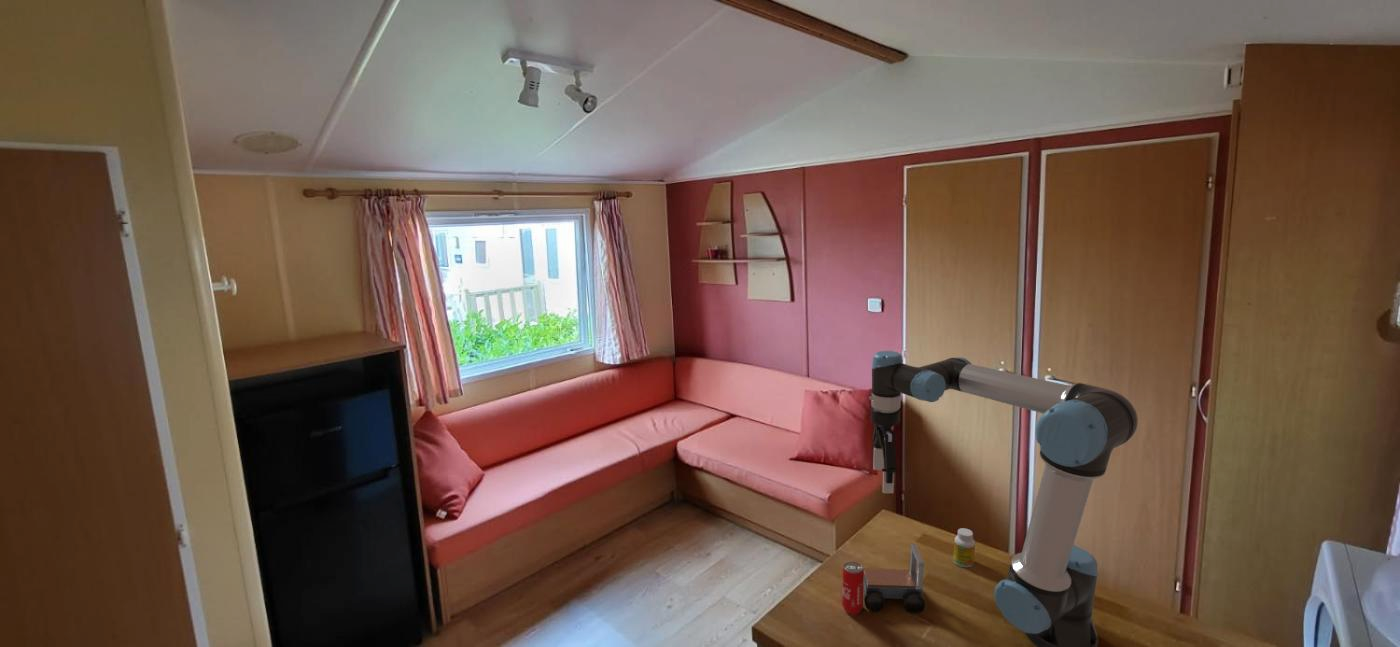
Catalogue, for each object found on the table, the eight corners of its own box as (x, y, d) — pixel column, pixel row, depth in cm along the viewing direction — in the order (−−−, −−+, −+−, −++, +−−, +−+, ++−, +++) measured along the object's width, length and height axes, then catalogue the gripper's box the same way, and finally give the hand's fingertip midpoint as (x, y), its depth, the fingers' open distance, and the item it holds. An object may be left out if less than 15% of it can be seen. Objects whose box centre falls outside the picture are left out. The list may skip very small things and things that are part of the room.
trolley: (914, 586, 165) (916, 540, 162) (924, 613, 154) (927, 565, 151) (857, 584, 166) (859, 539, 163) (864, 611, 156) (866, 563, 153)
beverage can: (863, 616, 154) (864, 574, 151) (842, 614, 155) (842, 572, 153) (862, 603, 159) (863, 562, 156) (842, 600, 160) (842, 560, 158)
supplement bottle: (954, 566, 173) (956, 535, 171) (952, 555, 178) (954, 525, 176) (974, 569, 171) (976, 538, 169) (972, 558, 176) (974, 528, 174)
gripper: (863, 392, 176) (861, 460, 181) (880, 425, 152) (877, 503, 156) (890, 392, 175) (887, 460, 180) (911, 426, 151) (907, 503, 156)
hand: (882, 480), depth 168 cm, fingers open, 13 cm apart
